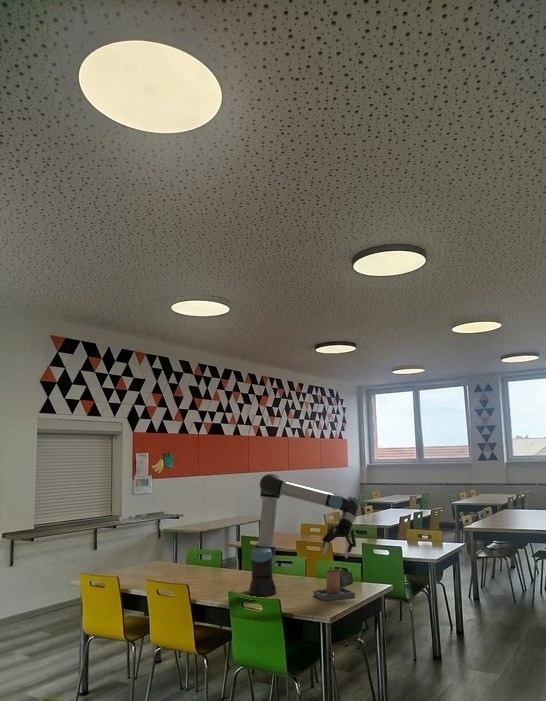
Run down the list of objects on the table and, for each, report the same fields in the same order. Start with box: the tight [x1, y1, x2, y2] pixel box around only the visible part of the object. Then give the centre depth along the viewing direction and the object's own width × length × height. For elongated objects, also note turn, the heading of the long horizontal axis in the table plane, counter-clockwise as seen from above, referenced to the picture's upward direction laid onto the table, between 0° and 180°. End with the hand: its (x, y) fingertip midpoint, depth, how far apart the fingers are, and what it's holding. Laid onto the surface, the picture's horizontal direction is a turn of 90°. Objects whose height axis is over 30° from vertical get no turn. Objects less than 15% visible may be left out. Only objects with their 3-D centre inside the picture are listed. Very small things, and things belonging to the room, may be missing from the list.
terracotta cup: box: [325, 569, 340, 595], centre depth 296 cm, size 7×7×12 cm
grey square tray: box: [312, 587, 356, 601], centre depth 295 cm, size 15×18×2 cm
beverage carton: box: [339, 571, 354, 588], centre depth 326 cm, size 8×19×7 cm, turn 148°
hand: (334, 555), depth 307 cm, fingers open, 13 cm apart
